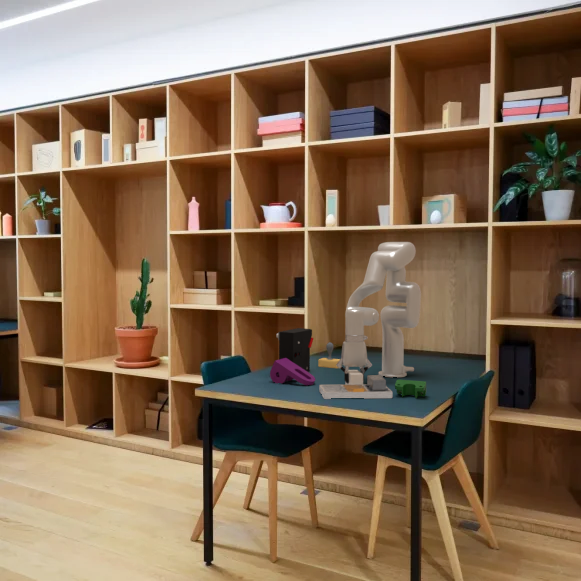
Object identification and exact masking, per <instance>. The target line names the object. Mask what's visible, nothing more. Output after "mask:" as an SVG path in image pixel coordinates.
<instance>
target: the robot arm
mask: <svg viewBox="0 0 581 581" xmlns="http://www.w3.org/2000/svg"><path fill="white" fill-rule="evenodd" d="M416 249H417V248H416V246H415V245H414V243H412V242H410V241H387V242H386V241H385V242H382V243H380V244H379V245H378V247H377V251H374V252H372V254H371V255H370V257H369V261H368V264H367V268H366V271H365V275H364V279H363V282H362V283H361V284H360V285H359V286H358V287H357V288H356V289H355V290H354V291H353V292H352V293H351V295H350V297H349V298H348V302H347V304H346V308H345V309H346V310H345V314H344V317H345V333H344V334H345V338H344V339H345V340H344V341H343V342H342V346H341V347H342V348H341V358H339V359H340V360H339V362H338V363H337V364H336V366H337V367H339V368H338V369H339V370H341V371H342V372H343V375H344V378H343V380H344V382H345V381H346V383H349V374H348V370H350V367H353V368H355V367H356V368H359V372H361V373H362V374H363V382H364V381H365V373H366V372H367V371H368V370H369V369H370V368H371V367H372V366H373V364H372V363H371V360H369V359H368V353H367V345H366V341H365V340H368V336H367V335H365V326H368V327H369V326H370V327H371V326H374V325H376V324H377V323H378V322H379V320H380V321H381V330H382V332H381V334H382V340H381V342H382V343H381V348H382V349H381V351H382V352H381V370H380V371H378V375H380V376H382V377H383V376H385V378H393V377H397V378H405V377H406V376H407V372H414V371H415V367H413V366H406V365H404V354H405V353H404V346H405V342H404V341H405V340H404V339H405V338H404V336H405V335H404V333H403V331H402V329H401V328H405V329H406V328H407V329H414V328H416V327H417V326H418V325H419V322H420V318H421V317H420V316H421V315H420V314H421V304H422V303H421V302H422V291H421V287H420V285H419V284H418V283H416V282H415V281H406V274H407V271H406V266H407V265H408V264H409V263H411V262H412V261H413V260H414V258H415V256H416V253H417V252H416ZM385 281H386V282H385ZM384 283H385V299H386V301H388V302H390V303H400V304H401V303H402V304H406V305H396V304H395V305H394V304H393V305H389V304H388V305H385V306H384V307H383V308H382V309H381V311H380V313H379V311H378V310H377V309H375V308H372V307H366V306H360V304H361V302H362V301H363V300H364V299H366V298H367V297H369V296H370V295H372V294H375V293H378V292H379V291H381V290H382V289H383V287H384ZM343 366H344V367H343Z"/></svg>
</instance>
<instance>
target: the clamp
mask: <svg viewBox="0 0 581 581" xmlns="http://www.w3.org/2000/svg"><path fill="white" fill-rule="evenodd" d="M396 379H397V378H396ZM394 388H395V389H396V394H397V395H398V394H402V395H401V398H404V397H405V396H408V395H414V396H413V397H414V398H415V399H416V398H417V399H418V398H419V397H420V396H423V397H425V396H426V395H427V381H426V380H425V381H422V380H410V379H409V380H408V379H397V380H396V381H395V384H394ZM403 396H404V397H403Z"/></svg>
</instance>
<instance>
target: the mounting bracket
mask: <svg viewBox="0 0 581 581" xmlns="http://www.w3.org/2000/svg"><path fill="white" fill-rule="evenodd" d="M269 377H270V380H271V381H272V383H274V382H275V383H274V384H278V383H281V384H283V383H287V382H289V381H293V380H295V381H296V382H298V383H300V384H301V385H303V386H308V385H310V386H313V385H314V384H315V381H316V378H315V376H314V375H313V374H311V373H310V372H307V371H305V370H304V369H302V368H301V367H299V366H298V365H296V364H295V363H293V362H292V361H290V360H289V359H287V358H283V359H280V360H279V359H276V360H274V362H273V365H272V366H271V368H270V371H269ZM308 387H309V386H308Z"/></svg>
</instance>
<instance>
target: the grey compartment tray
mask: <svg viewBox="0 0 581 581" xmlns="http://www.w3.org/2000/svg"><path fill="white" fill-rule="evenodd" d="M366 378H367V380H366V381H367V382H366V383H367V384H365V383H363V384H347V385H346V384H319V388H318V391H319V393H320V395H321V394H322V395H321V396H322V398H323V399H324V400H332V399H331V398H364V399H392V398H393V391H392V390H391V389H390V387H388V386H387V380H386V379H385V378H384V377H383V376H380V375H379V374H376V375H374V374H373V375H369V374H368V375H367V377H366Z"/></svg>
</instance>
